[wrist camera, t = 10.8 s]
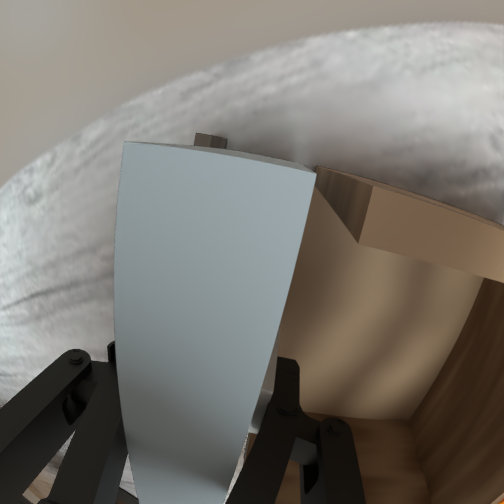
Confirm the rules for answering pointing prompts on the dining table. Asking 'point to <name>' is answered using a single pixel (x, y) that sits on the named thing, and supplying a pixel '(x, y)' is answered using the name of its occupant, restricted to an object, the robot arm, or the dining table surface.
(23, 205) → the dining table surface
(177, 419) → the door
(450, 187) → the dining table surface
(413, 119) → the dining table surface
